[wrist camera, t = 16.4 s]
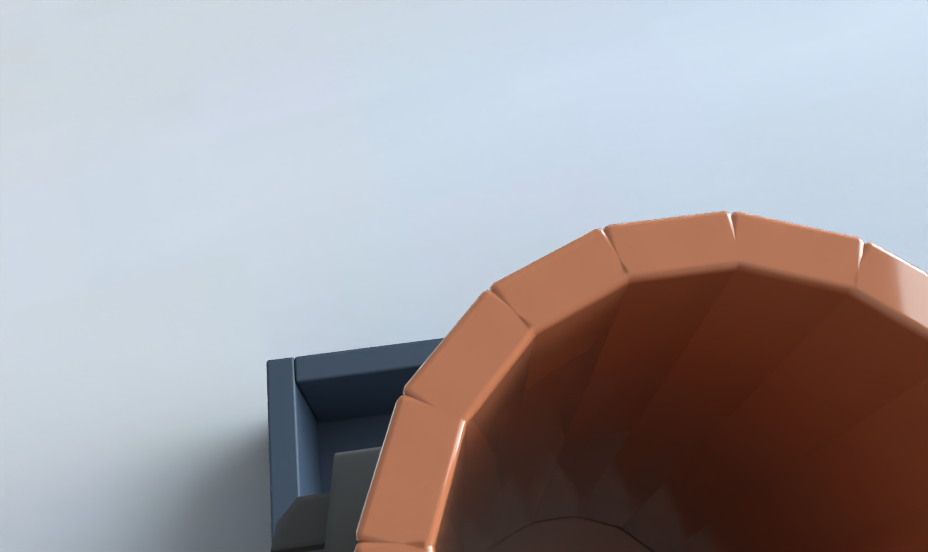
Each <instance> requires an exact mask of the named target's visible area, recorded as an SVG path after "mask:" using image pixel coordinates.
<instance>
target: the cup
mask: <svg viewBox="0 0 928 552" xmlns="http://www.w3.org/2000/svg"><path fill="white" fill-rule="evenodd" d="M356 540H357V541H358V544H356V546H355V550H354V552H928V273H926V272H924V271H923V270H921V269H919V268H917V267H915V266H914V265H912V264H910V263H908V262H907V261H905V260H903V259H901V258H899V257H898V256H896V255H894V254H892V253H891V252H889V251H887V250H885V249H883V248H882V247H880V246H878V245H876V244H874V243H871V242H867V243H865V244H864V242H863V240H862V239H860V238H859V237H855V236H850V235H846V234H841V233H836V232H831V231H827V230H822V229H817V228H813V227H808V226H803V225H799V224H794V223H789V222H785V221H780V220H775V219H771V218H766V217H761V216H756V215H752V214H747V213H742V212H734V213H732V214H731V215H730V213H729V212H726V211H720V212H712V213H704V214H696V215H687V216H679V217H671V218H663V219H654V220H646V221H638V222H630V223H621V224H613V225H609V226H606V227H605V228H603V230H601V229H595V230H593V231H591V232H590V233H588V234H586V235H584V236H582V237H580V238H578V239H576V240H574V241H573V242H571V243H569V244H567V245H565V246H563V247H561V248H559V249H558V250H556V251H554V252H552V253H550V254H548V255H546V256H544V257H542V258H541V259H539V260H537V261H535V262H533V263H531V264H529V265H527V266H526V267H524V268H522V269H520V270H518V271H516V272H514V273H512V274H510V275H509V276H507V277H505V278H503V279H501V280H499V281H497V282H495V283H494V284H493V285H492V286H491V287H490V290H486V291H485V292H483V293H481V294H480V296H479V297H478V298H477V299H476V300H475V302H474V303H473V304H472V305H471V306H470V308H469V309H468V310H467V311H466V313H465V314H464V315H463V316H462V317H461V319H460V320H459V321H458V322H457V323H456V325H455V326H454V327H453V328H452V329H451V331H450V332H449V333H448V334H447V335H446V337H445V338H444V339H443V340H442V342H441V343H440V344H439V345H438V346H437V348H436V349H435V350H434V351H433V352H432V354H431V355H430V356H429V357H428V358H427V360H426V361H425V362H424V363H423V364H422V366H421V367H420V368H419V369H418V371H417V372H416V373H415V374H414V375H413V377H412V378H411V379H410V380H409V381H408V383H407V384H406V385H405V387H404V390H403V396H400V397H399V398H398V400H397V401H396V404H395V407H394V410H393V413H392V417H391V420H390V423H389V426H388V429H387V433H386V436H385V439H384V442H383V446H382V449H381V452H380V455H379V459H378V462H377V465H376V468H375V471H374V475H373V478H372V481H371V484H370V488H369V491H368V494H367V497H366V501H365V504H364V507H363V510H362V514H361V517H360V520H359V523H358V526H357V530H356Z"/></svg>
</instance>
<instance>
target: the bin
mask: <svg viewBox="0 0 928 552" xmlns="http://www.w3.org/2000/svg"><path fill="white" fill-rule="evenodd" d="M443 339H444V338H441V339H433V340H425V341H417V342H409V343H402V344H394V345H386V346H378V347H370V348H362V349H355V350H347V351H339V352H331V353H323V354H315V355H308V356H300V357H296V358H295V360H294V358H284V359H276V360H269V361H267V395H268V429H269V464H270V498H271V533H272V542H273V538H274V533H275V528H276V523H277V522H278V521H279V519H280V518H281V517H282V516H283V514H284V513H285V512H286V511H287V509H288V508H289V507H290V506H291V504H292V503H293V502H294V501H295V499H296V498H297V497H300V496H307V495H314V494H321V493H328V492H330V490H331V480H332V471H333V461H334V455H335V453H340V452H347V451H354V450H361V449H369V448H376V447H382V446H383V442H384V439H385V436H386V433H387V429H388V426H389V423H390V420H391V417H392V413H393V410H394V407H395V404H396V401H397V400H398V398H399V397H400V396H403V390H404V387H405V385H406V384H407V383H408V381H409V380H410V379H411V378H412V377H413V375H414V374H415V373H416V372H417V371H418V369H419V368H420V367H421V366H422V364H423V363H424V362H425V361H426V360H427V358H428V357H429V356H430V355H431V354H432V352H433V351H434V350H435V349H436V348H437V346H438V345H439V344H440V343H441V342H442V340H443Z"/></svg>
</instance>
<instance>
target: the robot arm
mask: <svg viewBox="0 0 928 552" xmlns="http://www.w3.org/2000/svg"><path fill="white" fill-rule="evenodd" d="M381 449H382V447H376V448H369V449H361V450H354V451H347V452H340V453H335V455H334V461H333V471H332V480H331V490H330V492H328V493H321V494H314V495H307V496H300V497H297V498H296V499H295V501H294V502H293V503H292V504H291V506H290V507H289V508H288V509H287V511H286V512H285V513H284V514H283V516H282V517H281V518H280V519H279V521H278V522H277V523H276V528H275V533H274V538H273V542H272V547H271V552H354V550H355V546H356V544H358V541H357V540H356V530H357V526H358V523H359V520H360V517H361V514H362V510H363V507H364V504H365V501H366V497H367V494H368V491H369V488H370V484H371V481H372V478H373V475H374V471H375V468H376V465H377V462H378V459H379V455H380V452H381Z"/></svg>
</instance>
